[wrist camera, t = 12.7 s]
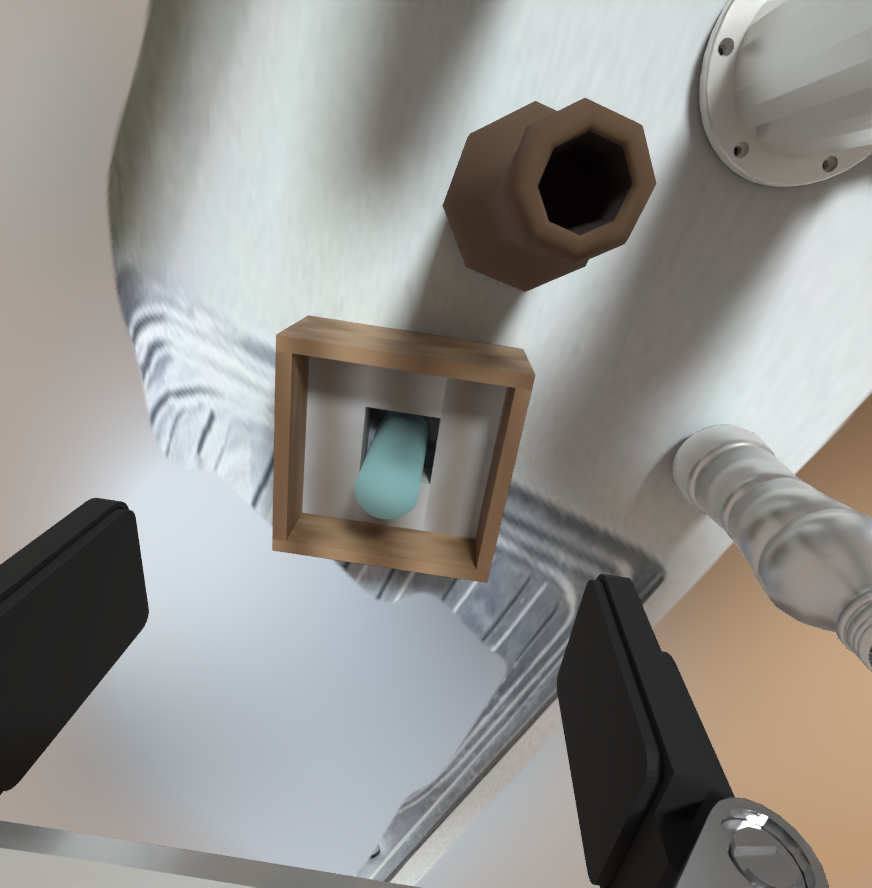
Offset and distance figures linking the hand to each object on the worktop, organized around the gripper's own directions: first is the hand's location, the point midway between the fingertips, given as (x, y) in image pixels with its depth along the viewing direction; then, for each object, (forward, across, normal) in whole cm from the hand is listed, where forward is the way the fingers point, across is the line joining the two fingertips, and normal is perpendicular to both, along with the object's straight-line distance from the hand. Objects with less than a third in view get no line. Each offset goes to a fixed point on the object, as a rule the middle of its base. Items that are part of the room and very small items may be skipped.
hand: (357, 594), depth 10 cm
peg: (+29, +2, +9) cm, 31 cm away
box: (+29, +2, +9) cm, 30 cm away
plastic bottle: (+30, -22, +7) cm, 38 cm away
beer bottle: (+30, -3, -8) cm, 31 cm away
